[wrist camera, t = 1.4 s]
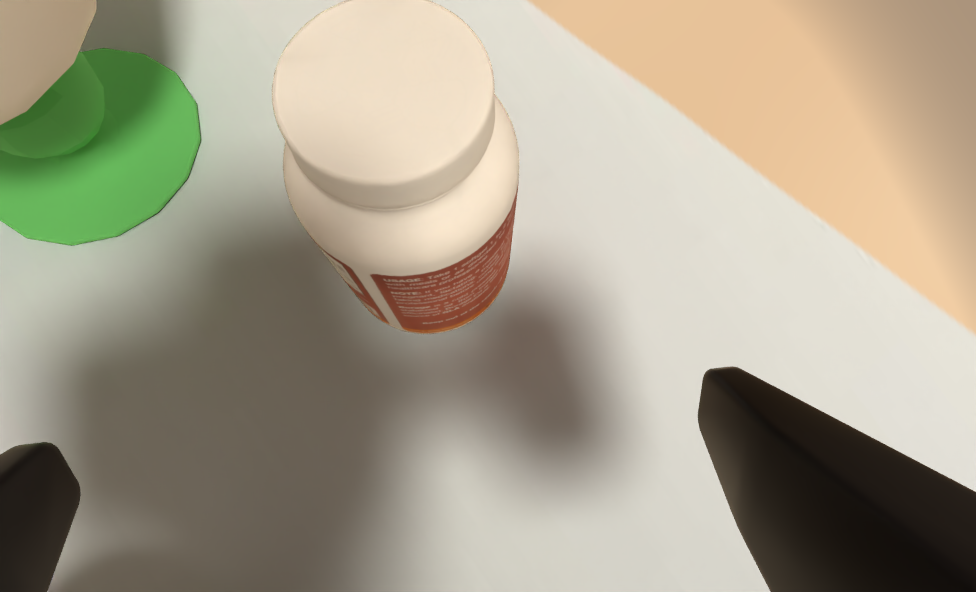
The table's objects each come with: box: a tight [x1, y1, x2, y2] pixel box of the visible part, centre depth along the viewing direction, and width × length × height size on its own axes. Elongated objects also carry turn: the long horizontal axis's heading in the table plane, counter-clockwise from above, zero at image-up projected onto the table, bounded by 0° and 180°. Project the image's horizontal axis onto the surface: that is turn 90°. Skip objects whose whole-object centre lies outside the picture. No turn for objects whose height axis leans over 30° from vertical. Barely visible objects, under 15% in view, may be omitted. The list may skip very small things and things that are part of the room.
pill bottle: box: [272, 0, 519, 334], centre depth 17 cm, size 6×6×11 cm
